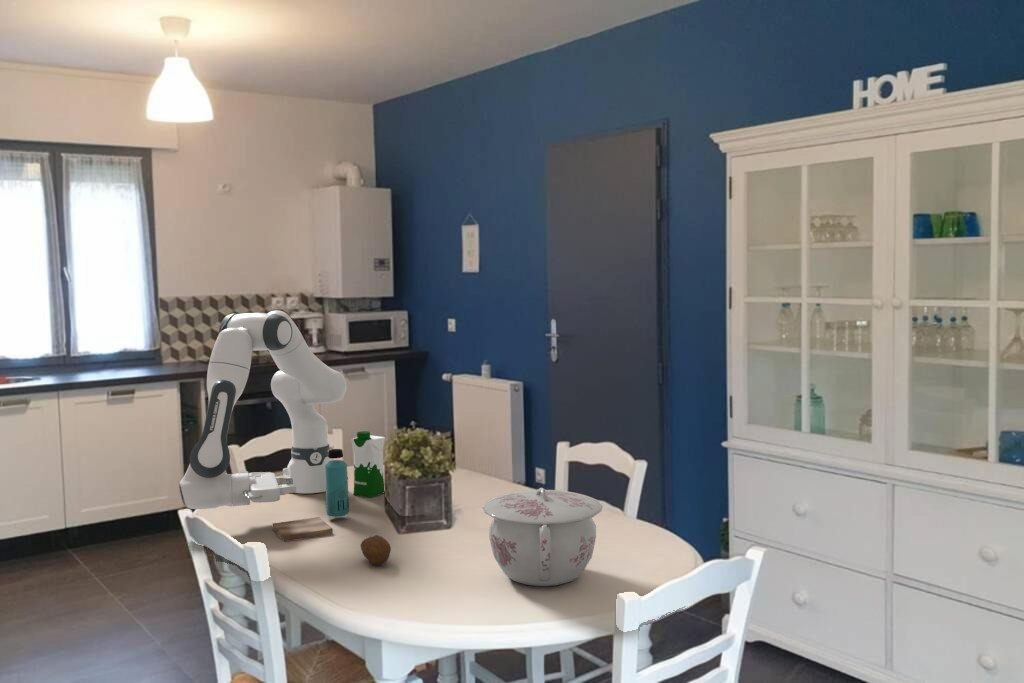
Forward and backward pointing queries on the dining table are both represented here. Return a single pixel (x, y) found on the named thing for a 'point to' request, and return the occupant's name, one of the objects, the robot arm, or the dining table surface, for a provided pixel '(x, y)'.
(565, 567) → the chamber pot
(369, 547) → the potato
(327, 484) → the beverage bottle
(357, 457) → the milk carton
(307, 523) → the trivet
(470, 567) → the dining table surface
